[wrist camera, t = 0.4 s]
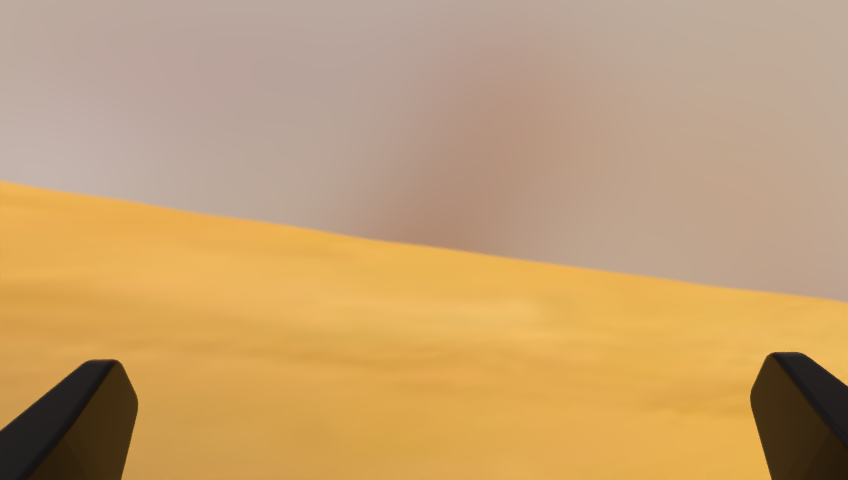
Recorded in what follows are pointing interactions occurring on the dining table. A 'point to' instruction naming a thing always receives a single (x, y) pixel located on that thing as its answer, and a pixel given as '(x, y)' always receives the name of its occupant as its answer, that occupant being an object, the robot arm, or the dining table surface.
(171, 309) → the dining table surface
